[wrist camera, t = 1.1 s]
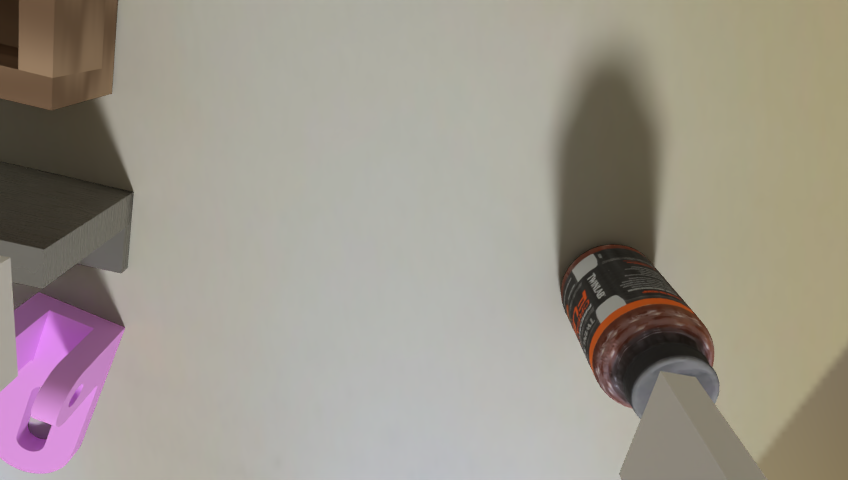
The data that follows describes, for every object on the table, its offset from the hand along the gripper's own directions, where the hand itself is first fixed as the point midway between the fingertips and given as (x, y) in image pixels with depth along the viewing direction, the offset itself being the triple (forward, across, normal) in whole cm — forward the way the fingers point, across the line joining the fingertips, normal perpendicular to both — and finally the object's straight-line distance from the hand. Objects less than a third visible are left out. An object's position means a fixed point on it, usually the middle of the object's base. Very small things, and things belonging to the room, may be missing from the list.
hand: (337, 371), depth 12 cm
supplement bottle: (+24, +14, -7) cm, 29 cm away
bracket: (+24, -19, -21) cm, 37 cm away
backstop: (+23, -21, -9) cm, 32 cm away
